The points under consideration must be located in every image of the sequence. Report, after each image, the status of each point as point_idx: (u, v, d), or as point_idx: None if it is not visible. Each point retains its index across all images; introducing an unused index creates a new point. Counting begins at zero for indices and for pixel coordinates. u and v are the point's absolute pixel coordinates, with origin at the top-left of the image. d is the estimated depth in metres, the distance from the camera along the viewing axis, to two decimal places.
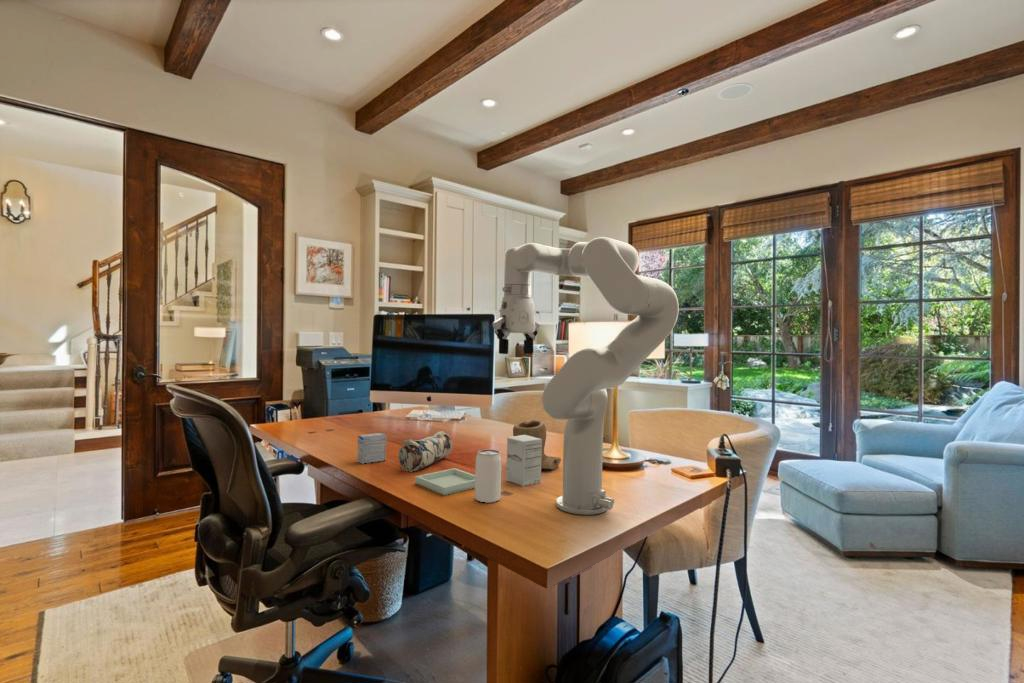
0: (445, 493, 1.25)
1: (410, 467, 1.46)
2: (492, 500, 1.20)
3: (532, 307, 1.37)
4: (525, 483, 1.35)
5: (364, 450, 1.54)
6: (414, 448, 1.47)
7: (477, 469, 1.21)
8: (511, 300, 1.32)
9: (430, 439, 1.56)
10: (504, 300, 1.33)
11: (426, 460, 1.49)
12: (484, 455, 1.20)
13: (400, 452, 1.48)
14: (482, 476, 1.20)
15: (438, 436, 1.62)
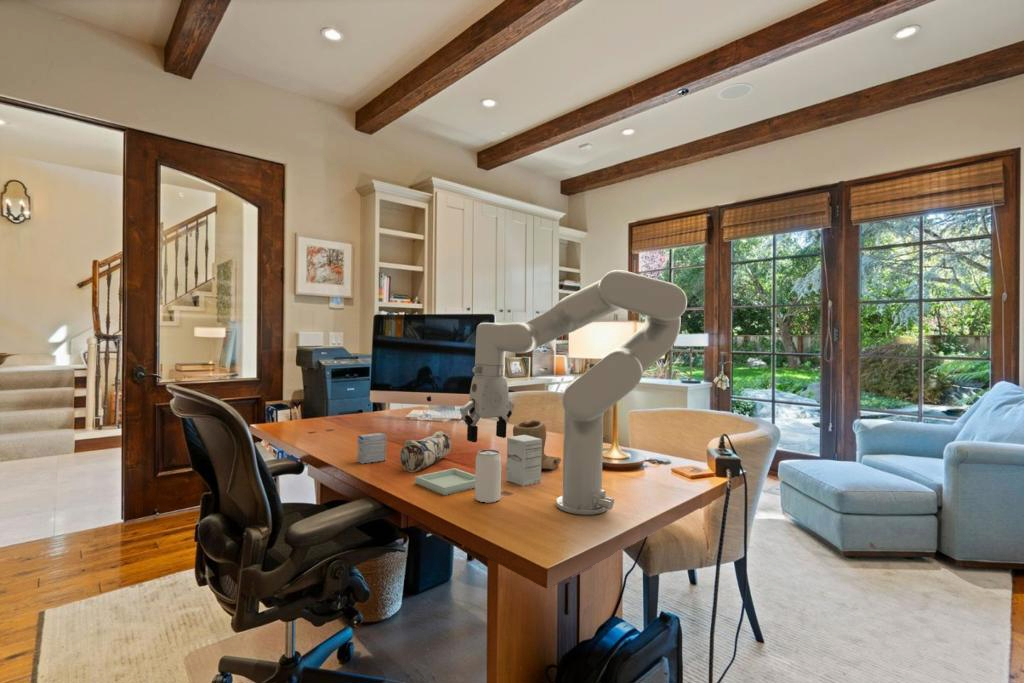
0: (445, 493, 1.25)
1: (412, 467, 1.46)
2: (492, 500, 1.20)
3: (506, 388, 1.23)
4: (525, 483, 1.35)
5: (364, 450, 1.54)
6: (416, 448, 1.47)
7: (477, 469, 1.21)
8: (481, 382, 1.18)
9: (430, 439, 1.56)
10: (474, 382, 1.20)
11: (428, 460, 1.49)
12: (484, 455, 1.20)
13: (401, 452, 1.48)
14: (482, 476, 1.20)
15: (437, 436, 1.62)
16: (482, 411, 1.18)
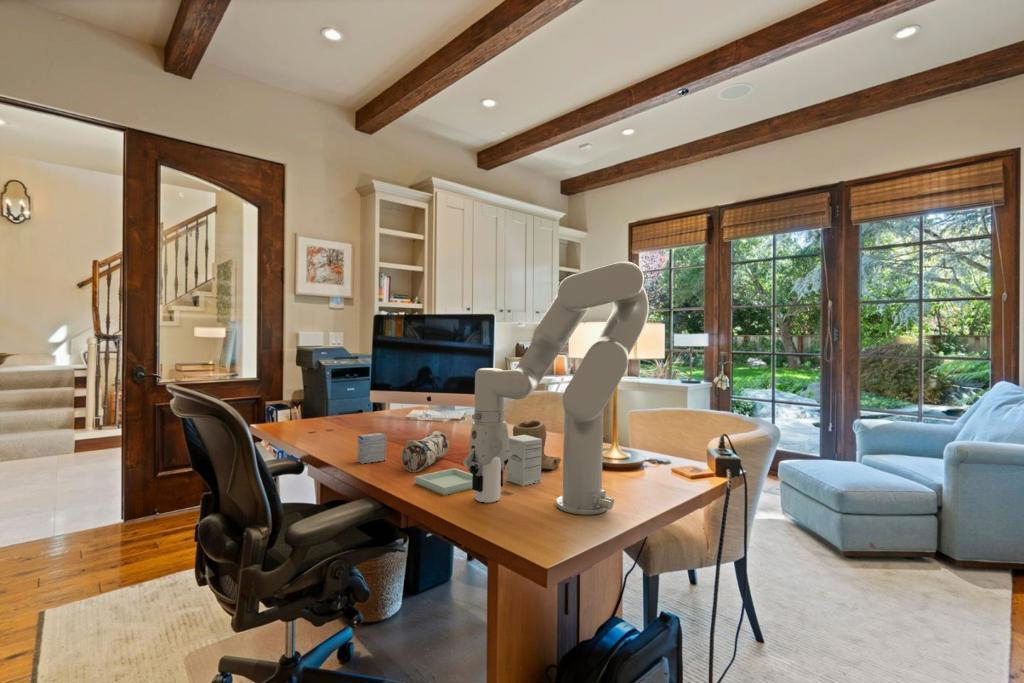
0: (445, 493, 1.25)
1: (414, 467, 1.46)
2: (492, 500, 1.20)
3: (506, 433, 1.23)
4: (525, 483, 1.35)
5: (364, 450, 1.54)
6: (419, 448, 1.47)
7: None
8: (481, 429, 1.18)
9: (430, 439, 1.56)
10: (474, 428, 1.20)
11: (430, 460, 1.49)
12: None
13: (403, 453, 1.47)
14: None
15: (436, 436, 1.62)
16: (482, 458, 1.18)
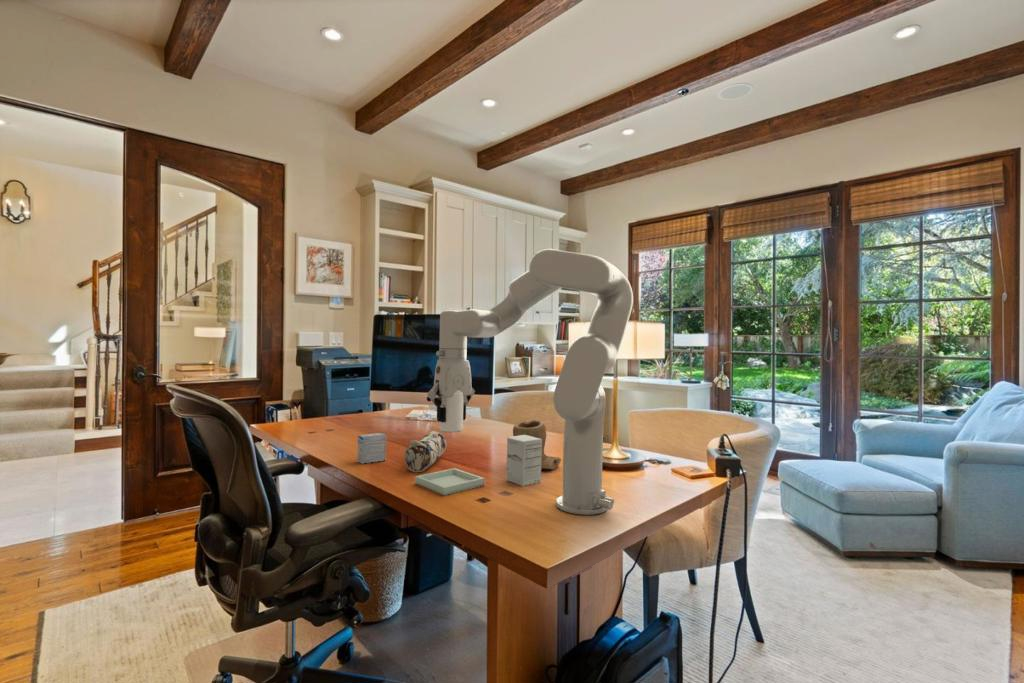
0: (445, 493, 1.25)
1: (418, 467, 1.46)
2: (454, 430, 1.31)
3: (468, 370, 1.35)
4: (525, 483, 1.35)
5: (364, 450, 1.54)
6: (422, 448, 1.47)
7: None
8: (444, 364, 1.30)
9: (430, 439, 1.56)
10: (438, 364, 1.31)
11: (432, 460, 1.49)
12: None
13: (406, 453, 1.47)
14: None
15: (434, 436, 1.62)
16: (445, 391, 1.29)
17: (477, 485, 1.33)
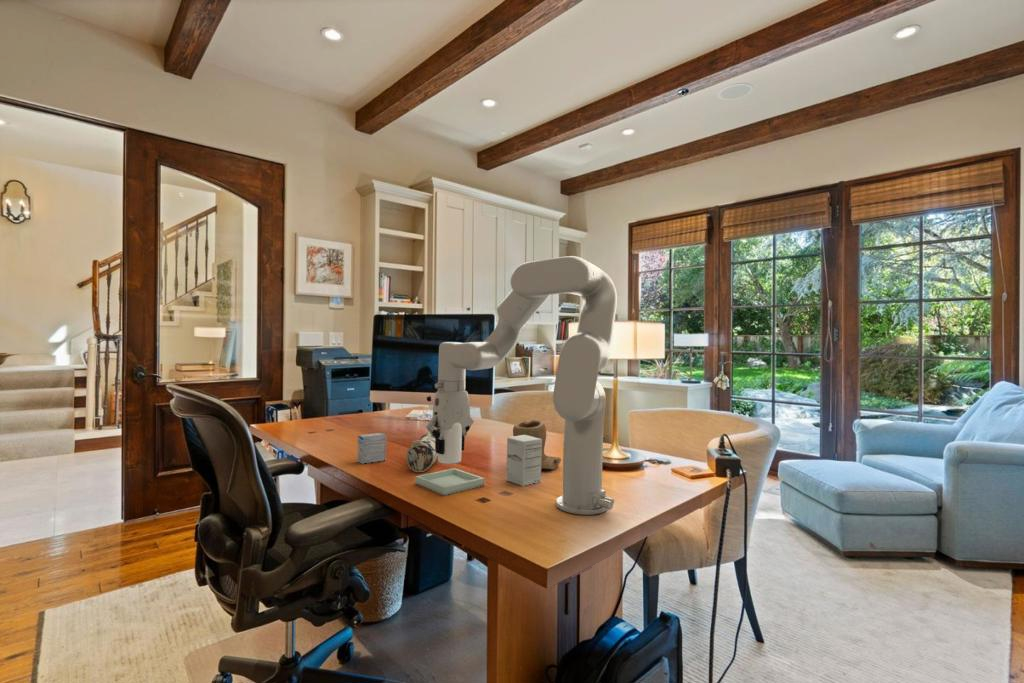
0: (445, 493, 1.25)
1: (420, 467, 1.46)
2: (453, 462, 1.32)
3: (467, 401, 1.35)
4: (525, 483, 1.35)
5: (364, 450, 1.54)
6: (424, 448, 1.47)
7: None
8: (442, 397, 1.30)
9: (430, 439, 1.56)
10: (437, 396, 1.32)
11: (434, 460, 1.49)
12: None
13: (408, 454, 1.46)
14: None
15: (432, 436, 1.62)
16: (444, 423, 1.30)
17: (477, 485, 1.33)
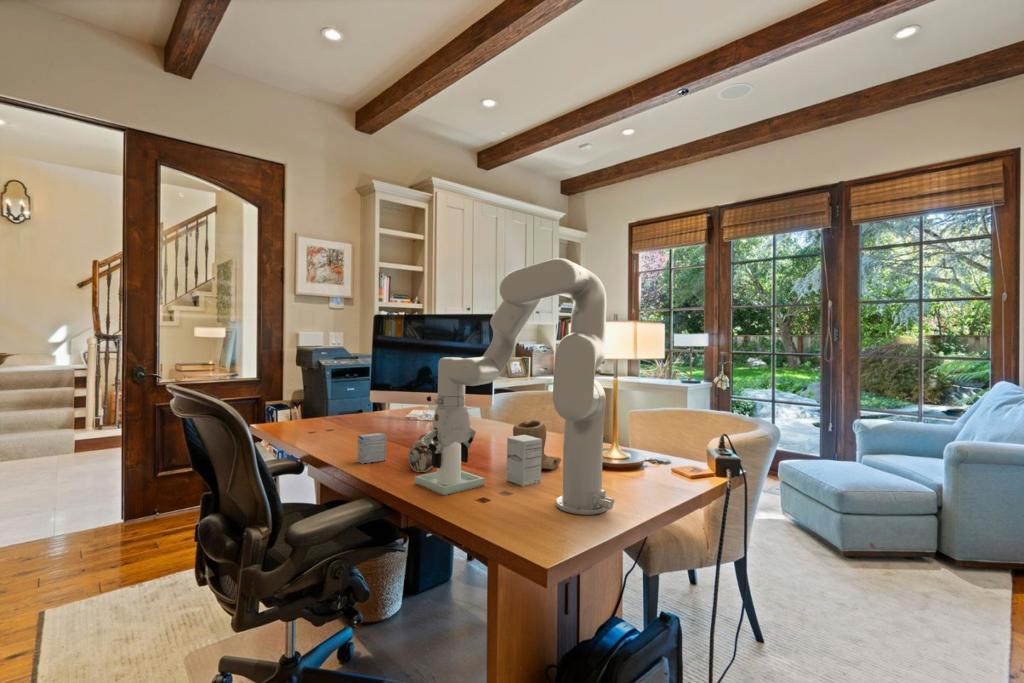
0: (445, 493, 1.25)
1: (422, 468, 1.46)
2: (452, 483, 1.31)
3: (466, 416, 1.35)
4: (525, 483, 1.35)
5: (364, 450, 1.54)
6: (426, 448, 1.47)
7: None
8: (442, 413, 1.30)
9: None
10: (436, 412, 1.32)
11: None
12: None
13: (410, 454, 1.46)
14: (443, 462, 1.31)
15: None
16: (444, 439, 1.30)
17: (477, 485, 1.33)
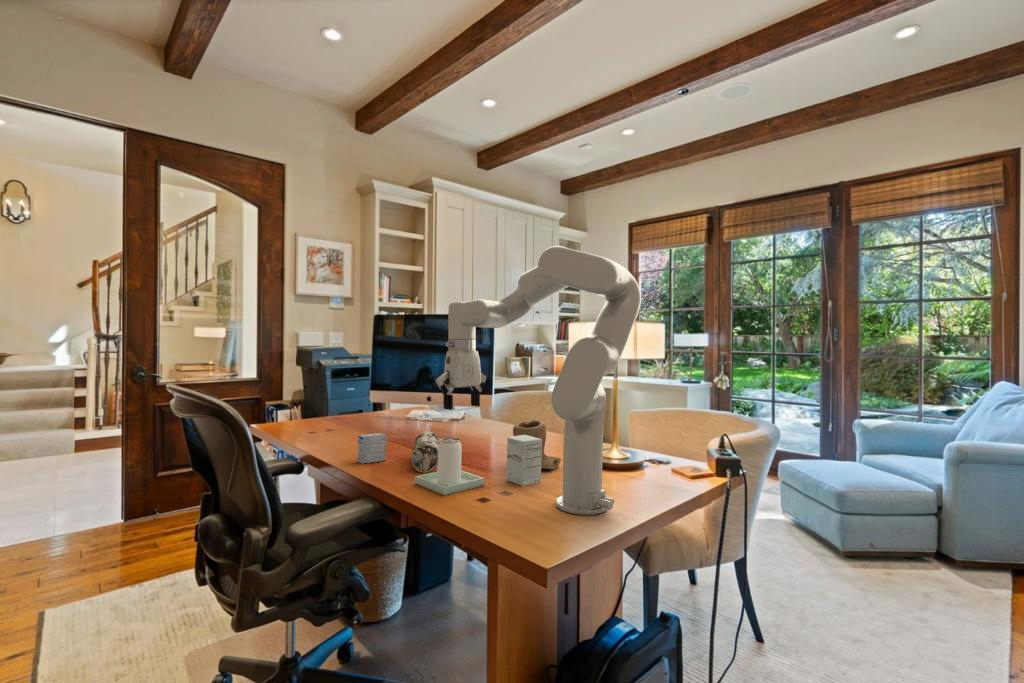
0: (445, 493, 1.25)
1: (426, 468, 1.46)
2: (452, 483, 1.31)
3: (477, 360, 1.36)
4: (525, 483, 1.35)
5: (364, 450, 1.54)
6: (430, 448, 1.47)
7: (438, 455, 1.32)
8: (454, 355, 1.31)
9: (430, 439, 1.57)
10: (448, 355, 1.32)
11: None
12: (445, 442, 1.31)
13: (413, 454, 1.46)
14: (443, 462, 1.31)
15: (429, 436, 1.62)
16: (456, 381, 1.30)
17: (477, 485, 1.33)
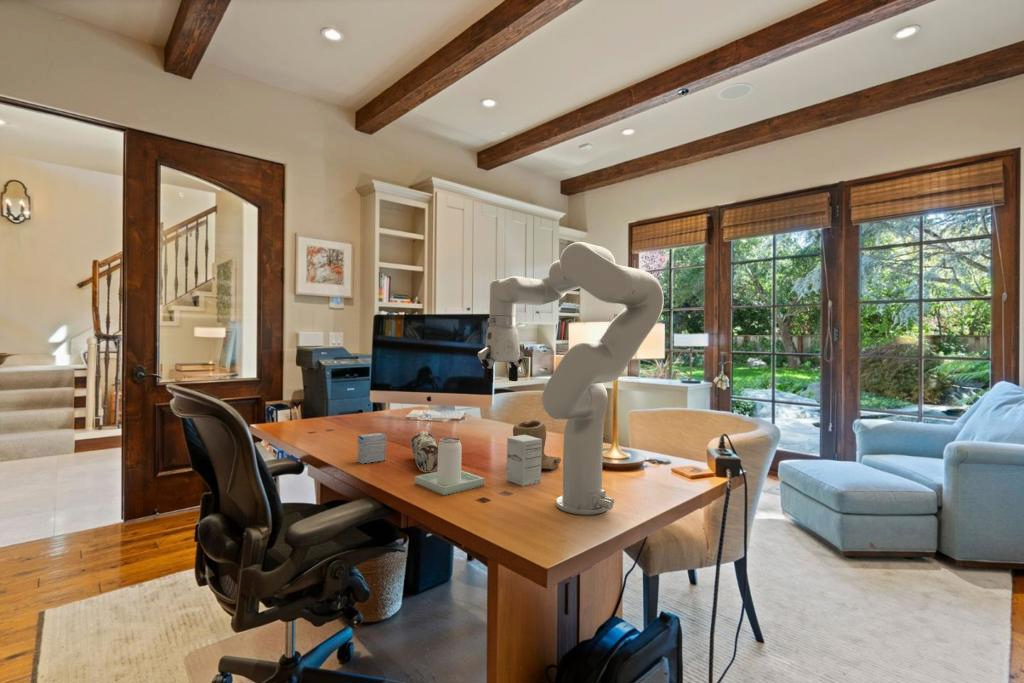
0: (445, 493, 1.25)
1: (430, 468, 1.46)
2: (452, 483, 1.31)
3: (516, 337, 1.41)
4: (525, 483, 1.35)
5: (364, 450, 1.54)
6: (433, 448, 1.47)
7: (438, 455, 1.32)
8: (495, 330, 1.36)
9: (429, 439, 1.57)
10: (489, 330, 1.38)
11: None
12: (445, 442, 1.31)
13: (417, 454, 1.46)
14: (443, 462, 1.31)
15: (427, 436, 1.62)
16: (497, 355, 1.36)
17: (477, 485, 1.33)
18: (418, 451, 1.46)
